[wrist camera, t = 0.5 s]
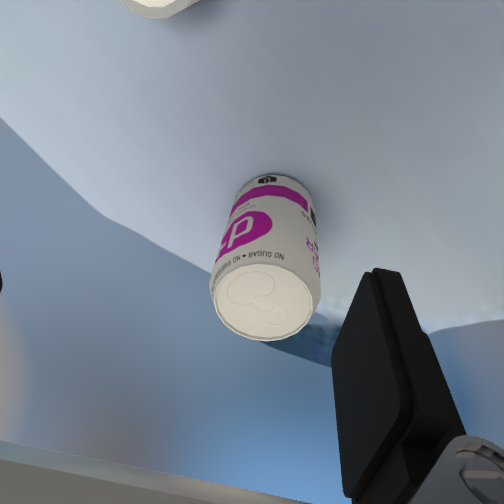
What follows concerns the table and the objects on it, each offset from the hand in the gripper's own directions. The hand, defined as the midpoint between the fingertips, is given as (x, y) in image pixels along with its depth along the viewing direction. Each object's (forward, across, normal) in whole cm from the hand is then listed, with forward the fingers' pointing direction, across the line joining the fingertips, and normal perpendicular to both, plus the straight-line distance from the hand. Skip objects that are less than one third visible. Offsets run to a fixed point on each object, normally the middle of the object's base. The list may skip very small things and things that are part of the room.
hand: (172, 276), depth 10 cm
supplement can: (+29, -4, +12) cm, 31 cm away
